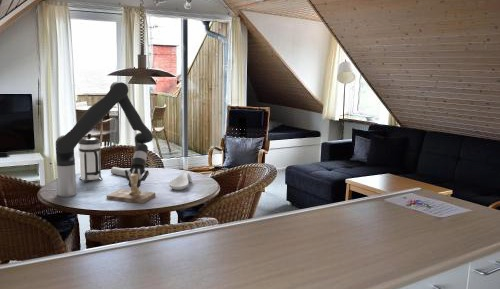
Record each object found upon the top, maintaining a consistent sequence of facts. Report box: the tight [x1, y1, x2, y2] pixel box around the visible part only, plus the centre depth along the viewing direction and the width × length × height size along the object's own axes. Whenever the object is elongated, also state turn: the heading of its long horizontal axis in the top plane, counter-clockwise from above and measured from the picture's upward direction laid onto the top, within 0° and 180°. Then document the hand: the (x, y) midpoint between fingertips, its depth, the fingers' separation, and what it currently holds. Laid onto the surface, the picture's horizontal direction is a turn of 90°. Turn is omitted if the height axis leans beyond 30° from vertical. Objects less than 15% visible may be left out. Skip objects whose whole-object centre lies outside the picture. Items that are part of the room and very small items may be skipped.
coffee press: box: [78, 133, 104, 184], centre depth 261 cm, size 17×16×30 cm
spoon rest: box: [168, 172, 193, 191], centre depth 256 cm, size 24×12×7 cm, turn 170°
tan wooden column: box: [129, 174, 142, 195], centre depth 230 cm, size 5×5×11 cm
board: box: [106, 188, 156, 204], centre depth 230 cm, size 22×14×2 cm, turn 75°
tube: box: [110, 166, 143, 178], centre depth 276 cm, size 5×5×25 cm
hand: (134, 186), depth 228 cm, fingers closed on tan wooden column, 3 cm apart
